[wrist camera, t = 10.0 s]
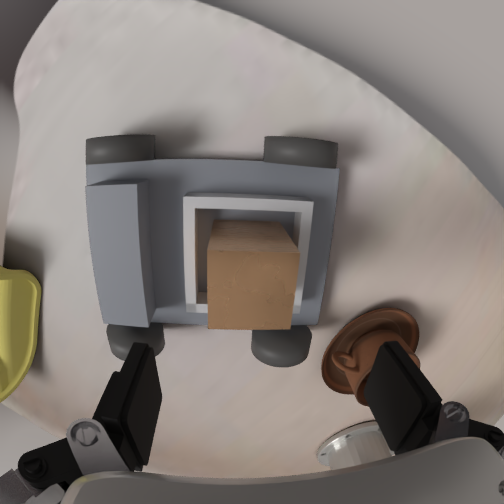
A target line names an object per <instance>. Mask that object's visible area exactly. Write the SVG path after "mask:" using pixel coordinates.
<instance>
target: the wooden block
mask: <svg viewBox="0 0 504 504" xmlns="http://www.w3.org/2000/svg"><path fill="white" fill-rule="evenodd" d="M299 260H300V252H299V250H298V249H297V247H296V246H295V244H294V243H293V241H292V240H291V238H290V237H289V235H288V234H287V232H286V231H285V229H284V228H283V226H282V225H281V223H280V222H273V221H248V220H217V219H214V221H213V226H212V230H211V235H210V240H209V244H208V249H207V302H208V329H237V330H277V329H290V327H291V320H292V313H293V306H294V299H295V291H296V284H297V276H298V268H299Z"/></svg>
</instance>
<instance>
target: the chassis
mask: <svg viewBox="0 0 504 504" xmlns="http://www.w3.org/2000/svg"><path fill="white" fill-rule="evenodd" d="M154 148H155V135H116V136H104V137H96V138H90V139H86V179H87V186H85V188H86V207H87V220H88V231H89V240H90V249H91V256H92V263H93V270H94V277H95V283H96V288H97V294H98V299H99V304H100V309H101V314H102V318H103V323H105V324H109V325H108V326H107V331H106V332H107V336H108V340H109V344H110V348H111V351H112V353H113V354H114V355H115V356H116V357H117V358H119V359H121V360H124V361H125V360H126V358H127V355H128V353H129V351H130V349H131V347H132V345H133V343H134V342H139V343H148V344H149V347H153V349H154V355H155V356H157V355H158V354H159V353H160V352H161V351H162V350H163V348H164V345H165V340H164V332H163V325H162V323H174V324H195V325H208V302H207V249H208V244H209V240H210V235H211V230H212V226H213V221H214V219H217V220H248V221H273V222H280V223H281V225H282V226H283V228H284V229H285V231H286V232H287V234H288V235H289V237H290V238H291V240H292V241H293V243H294V244H295V246H296V247H297V249H298V250H299V252H300V260H299V268H298V276H297V284H296V291H295V299H294V306H293V313H292V320H291V327H290V329H277V330H252V344H251V350H252V353H253V355H254V356H255V357H256V358H257V359H258V360H259V361H261V362H263V363H265V364H267V365H270V366H274V367H291V366H295V365H298V364H300V363H302V362H303V361H304V360H305V359H306V358H307V356H308V353H309V348H310V343H311V338H312V333H311V331H310V329H309V328H308V327H307V326H306V325H317V324H318V319H319V313H320V308H321V303H322V297H323V291H324V286H325V280H326V274H327V267H328V261H329V254H330V247H331V240H332V233H333V225H334V218H335V209H336V201H337V191H338V181H339V171H340V168H336V164H337V151H338V143H335V142H330V141H324V140H317V139H309V138H299V137H284V136H267V137H265V141H264V158H263V161H255V160H233V159H154Z"/></svg>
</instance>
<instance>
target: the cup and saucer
mask: <svg viewBox="0 0 504 504" xmlns="http://www.w3.org/2000/svg"><path fill="white" fill-rule="evenodd" d="M395 340H396V341H398V342H399V343H400V345H401V346H402V347H403V348H404V350H405V351H406V352H407V354H408V355H409V356H410V357H411V359H412V360H413V361H414V363H415V364H416V365H417V366H418V368H419V369H420V361H419V359H418V357H417V356H416V355H415V354H414V353H415V351H416V348H417V345H418V341H419V328H418V324H417V322H416V320H415V319H414V318H413V317H412V316H411V315H410V314H409V313H407V312H405V311H403V310H400V309H396V308H383V309H378V310H374V311H371V312H368V313H366V314H364V315H362V316H360V317H358V318H356V319H355V320H353V321H352V322H350V323H349V324H348V325H346V326H345V327H344V328H343V329H342V330H341V331H340V332H339V333H338V334H337V335H336V336H335V337H334V338H333V340H332V341H331V342H330V344H329V345H328V347H327V349H326V351H325V353H324V356H323V359H322V365H321V370H322V377H323V380H324V382H325V383H326V385H327V386H328V387H329V388H330V389H332V390H333V391H336V392H338V393H342V394H354V395H355V397H356V399H357V401H358V402H359V403H360V404H362V405H364V406H369V405H368V403H367V401H366V399H365V397H364V388H365V385H366V383H367V380H368V378H369V375H370V372H371V369H372V367H373V364H374V361H375V358H376V355H377V352H378V349H379V347H380V346H381V345H382V344H383V343H384V342H386V341H395Z"/></svg>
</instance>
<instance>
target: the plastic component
mask: <svg viewBox="0 0 504 504" xmlns="http://www.w3.org/2000/svg"><path fill="white" fill-rule="evenodd" d="M40 299H41V286H40V284H39V282H38V280H37V279H36V278H35V277H34V275H32V274H31V273H30V272H28V271H25V270H10V269H6V268H4V267H2V266H1V265H0V403H1V402H2V401H3V400H5V399H6V398H7V397H8V396H9V395H11V394H12V392H13V391H14V390H15V389H16V388H17V387H18V386H19V384H20V383H21V382H22V380H23V379H24V377H25V376H26V374H27V372H28V370H29V368H30V366H31V364H32V361H33V358H34V355H35V351H36V346H37V334H38V319H39V308H40Z"/></svg>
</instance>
